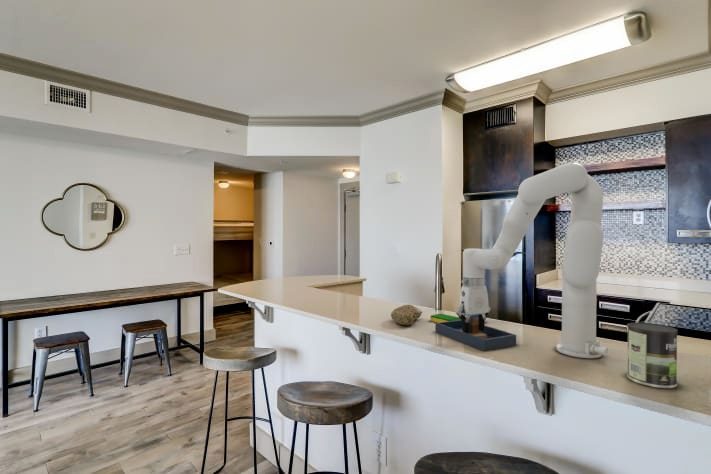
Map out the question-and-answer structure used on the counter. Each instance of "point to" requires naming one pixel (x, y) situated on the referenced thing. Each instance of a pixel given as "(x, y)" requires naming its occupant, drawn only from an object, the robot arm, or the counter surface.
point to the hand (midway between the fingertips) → (473, 330)
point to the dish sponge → (443, 318)
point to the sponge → (406, 314)
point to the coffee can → (652, 354)
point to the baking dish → (492, 342)
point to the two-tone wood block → (475, 327)
